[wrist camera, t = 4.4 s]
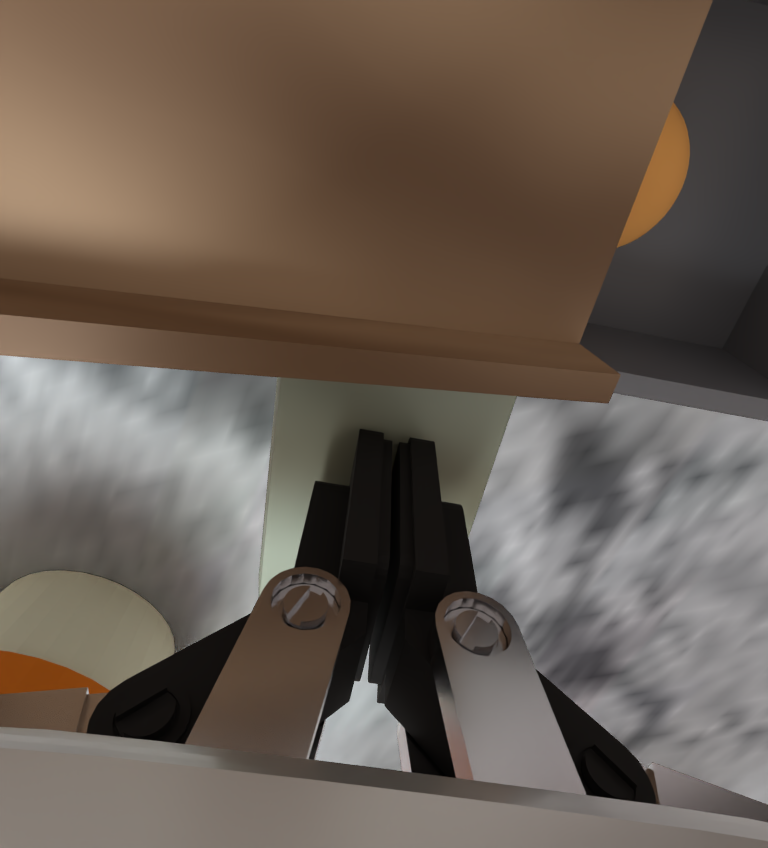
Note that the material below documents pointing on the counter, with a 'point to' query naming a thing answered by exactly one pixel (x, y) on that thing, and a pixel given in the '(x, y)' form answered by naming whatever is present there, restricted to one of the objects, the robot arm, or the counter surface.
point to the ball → (660, 178)
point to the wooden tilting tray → (332, 206)
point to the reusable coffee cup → (76, 633)
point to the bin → (702, 241)
